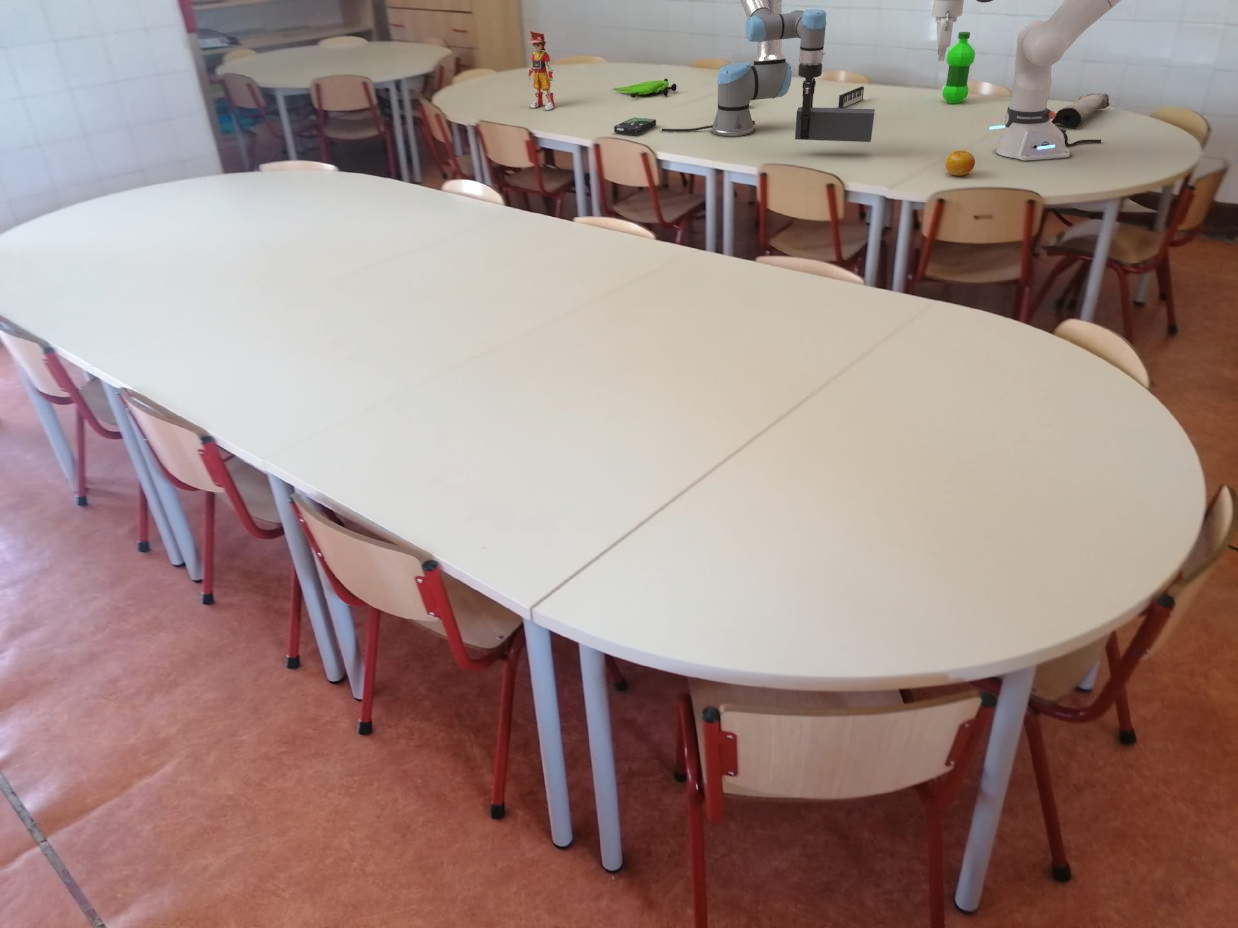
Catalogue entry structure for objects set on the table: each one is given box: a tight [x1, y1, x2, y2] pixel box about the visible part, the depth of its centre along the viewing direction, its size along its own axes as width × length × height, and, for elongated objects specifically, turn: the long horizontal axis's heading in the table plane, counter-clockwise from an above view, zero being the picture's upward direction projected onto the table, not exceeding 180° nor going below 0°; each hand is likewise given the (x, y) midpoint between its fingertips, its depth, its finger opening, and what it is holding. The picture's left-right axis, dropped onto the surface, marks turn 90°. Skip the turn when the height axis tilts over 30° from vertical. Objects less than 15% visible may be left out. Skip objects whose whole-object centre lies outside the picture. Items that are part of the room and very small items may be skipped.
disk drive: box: [613, 116, 657, 136], centre depth 344 cm, size 10×3×15 cm
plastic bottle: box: [942, 31, 976, 104], centre depth 348 cm, size 10×10×25 cm
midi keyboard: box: [837, 85, 865, 108], centre depth 359 cm, size 18×1×5 cm, turn 138°
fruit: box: [944, 150, 976, 177], centre depth 280 cm, size 8×8×8 cm
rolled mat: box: [1051, 92, 1110, 129], centre depth 325 cm, size 30×9×10 cm
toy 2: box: [612, 78, 677, 99], centre depth 396 cm, size 28×5×30 cm
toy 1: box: [527, 31, 556, 111], centre depth 374 cm, size 12×9×30 cm
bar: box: [794, 106, 876, 143], centre depth 300 cm, size 25×5×9 cm, turn 74°
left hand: (805, 135), depth 305 cm, fingers closed on bar, 5 cm apart
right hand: (940, 57), depth 283 cm, fingers open, 8 cm apart
